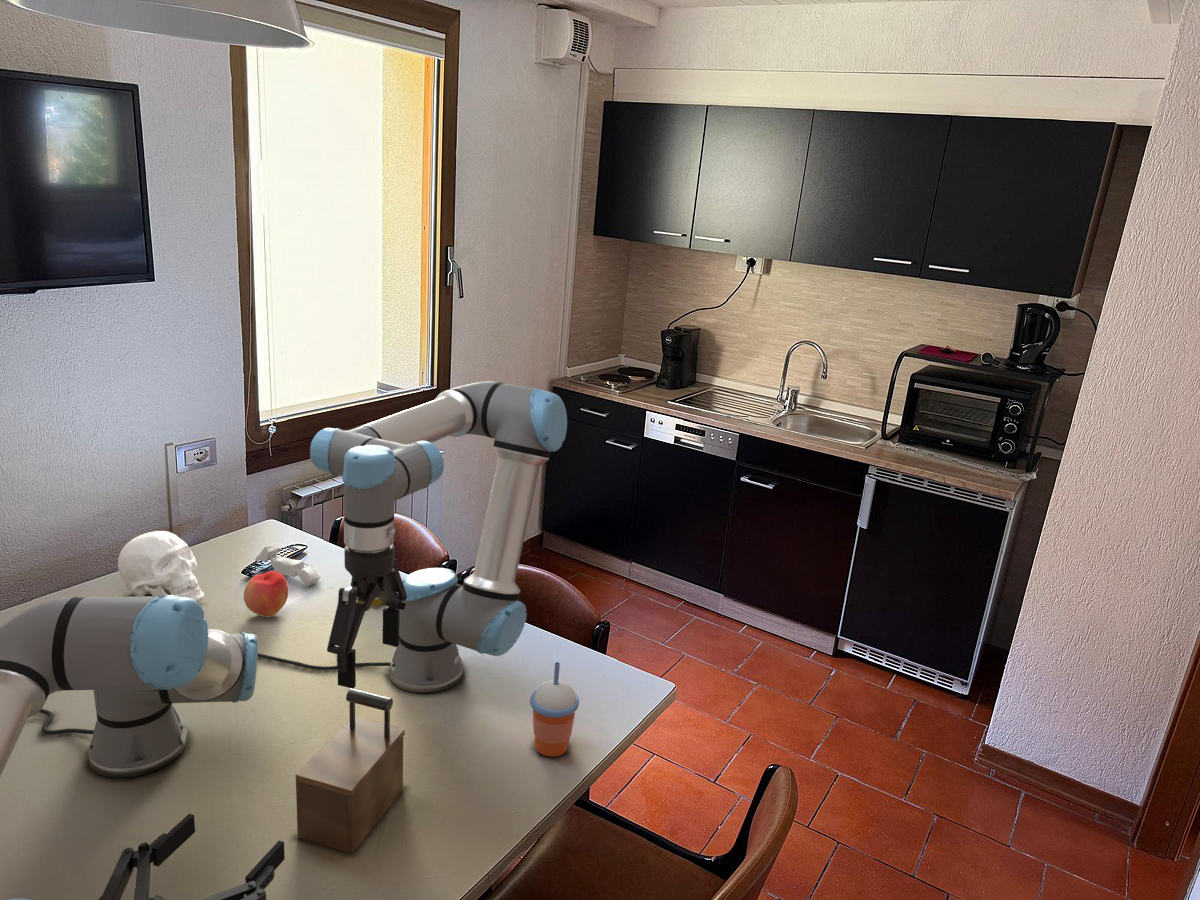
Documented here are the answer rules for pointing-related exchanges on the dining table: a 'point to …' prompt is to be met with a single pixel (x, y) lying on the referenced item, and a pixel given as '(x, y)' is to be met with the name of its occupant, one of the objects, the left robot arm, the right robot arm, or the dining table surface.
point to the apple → (266, 593)
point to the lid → (353, 748)
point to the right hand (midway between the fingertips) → (369, 664)
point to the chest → (349, 806)
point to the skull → (159, 566)
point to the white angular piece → (288, 565)
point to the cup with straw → (553, 715)
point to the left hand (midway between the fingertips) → (236, 835)
